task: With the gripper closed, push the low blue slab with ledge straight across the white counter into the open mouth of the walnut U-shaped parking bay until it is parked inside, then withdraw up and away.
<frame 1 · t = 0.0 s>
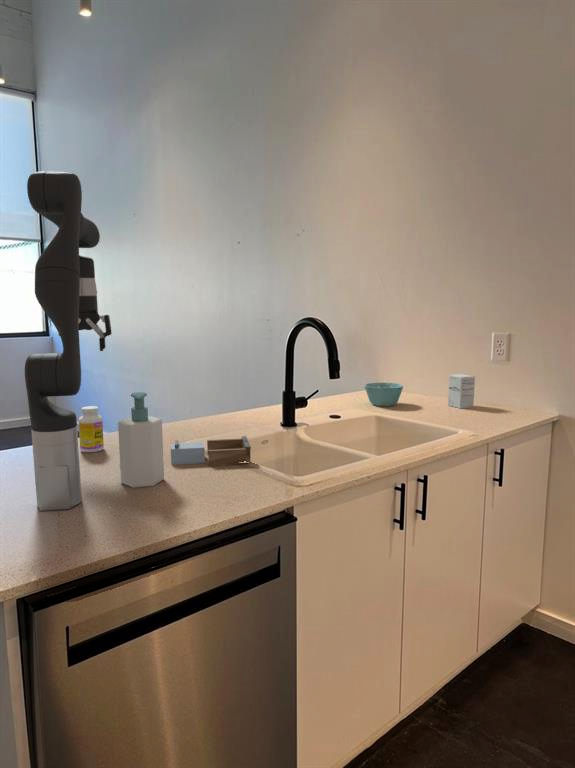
hand: (86, 351, 167), 29 cm above the worktop, fingers open, 8 cm apart
blue slab with ledge: (188, 461, 160), on the worktop
supplement bottle: (92, 450, 170), on the worktop
supplement box: (460, 406, 232), on the worktop
bay: (226, 458, 161), on the worktop
bowl: (383, 405, 237), on the worktop
soap bottle: (142, 482, 142), on the worktop
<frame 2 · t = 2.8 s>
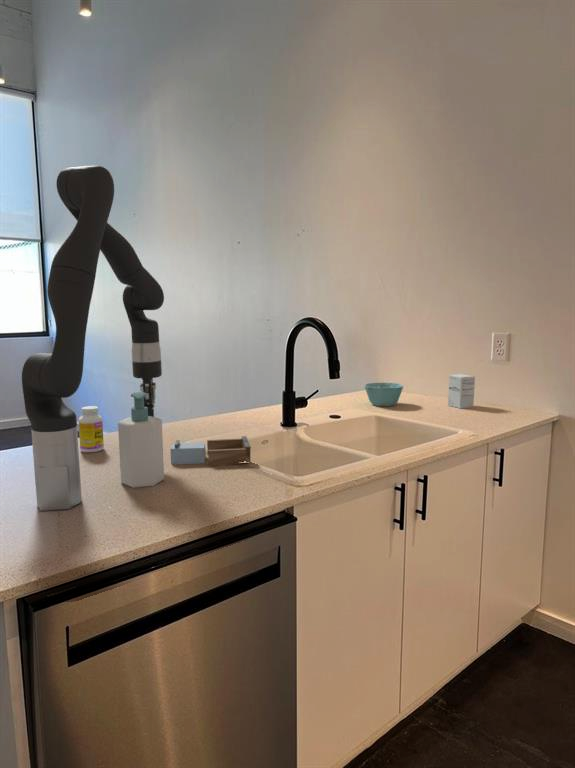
hand: (150, 422, 156), 11 cm above the worktop, fingers closed
nothing on the worktop moved.
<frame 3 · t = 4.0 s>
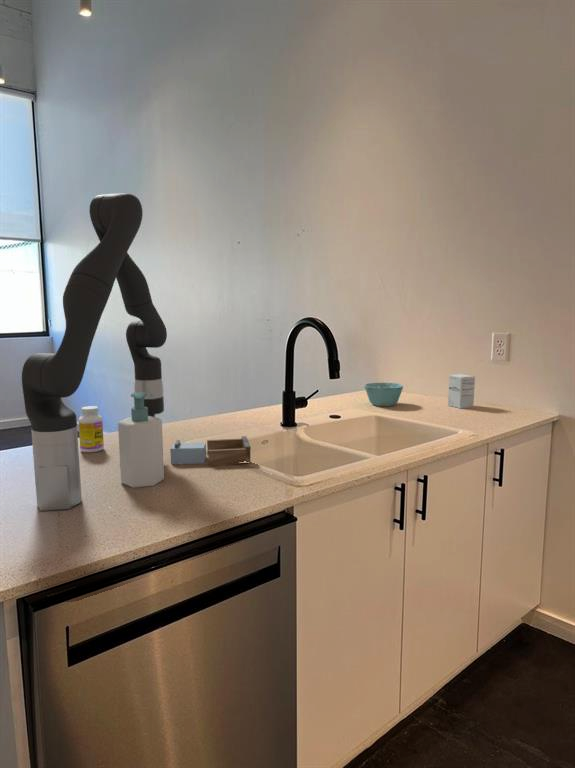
hand: (151, 457, 158), 1 cm above the worktop, fingers closed
nothing on the worktop moved.
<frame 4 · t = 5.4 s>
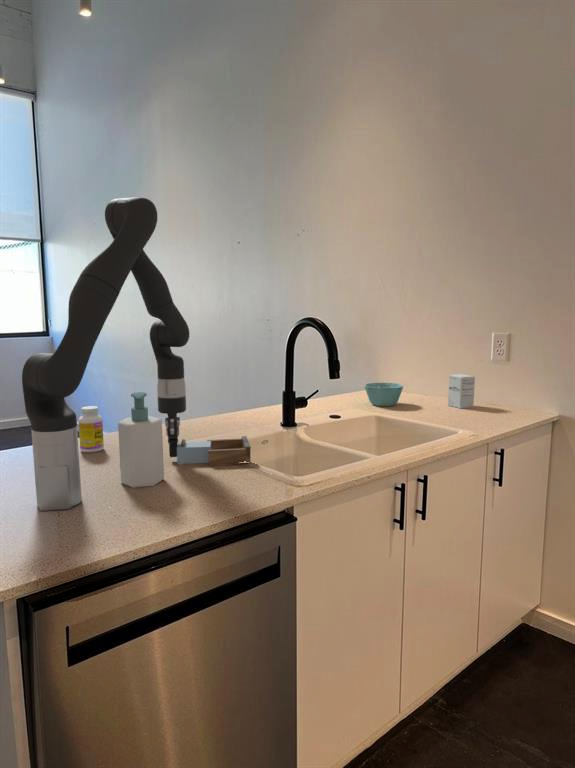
hand: (173, 456, 159), 1 cm above the worktop, fingers closed
blue slab with ledge: (194, 460, 160), on the worktop, touching gripper
everything else where it was.
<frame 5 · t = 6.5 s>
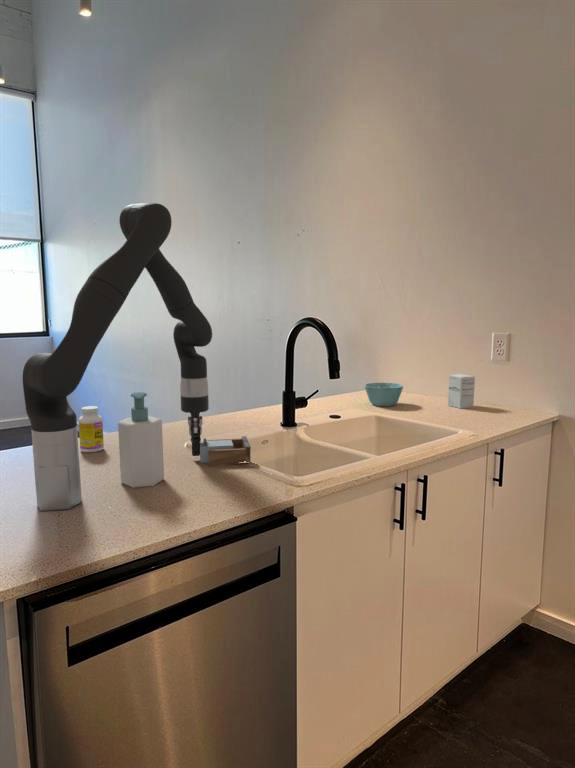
hand: (196, 455, 160), 1 cm above the worktop, fingers closed
blue slab with ledge: (216, 459, 161), resting in bay, touching gripper
everything else where it was.
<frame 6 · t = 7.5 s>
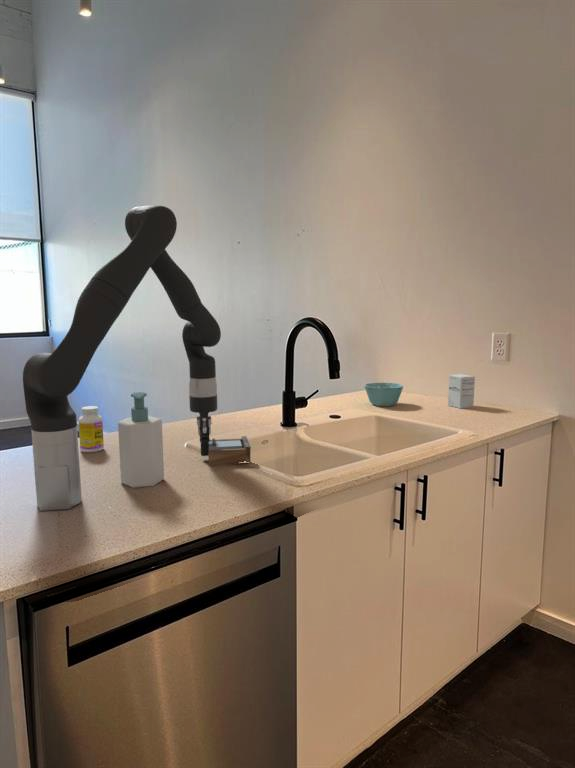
hand: (204, 454, 160), 1 cm above the worktop, fingers closed
blue slab with ledge: (225, 459, 161), resting in bay, touching gripper
everything else where it was.
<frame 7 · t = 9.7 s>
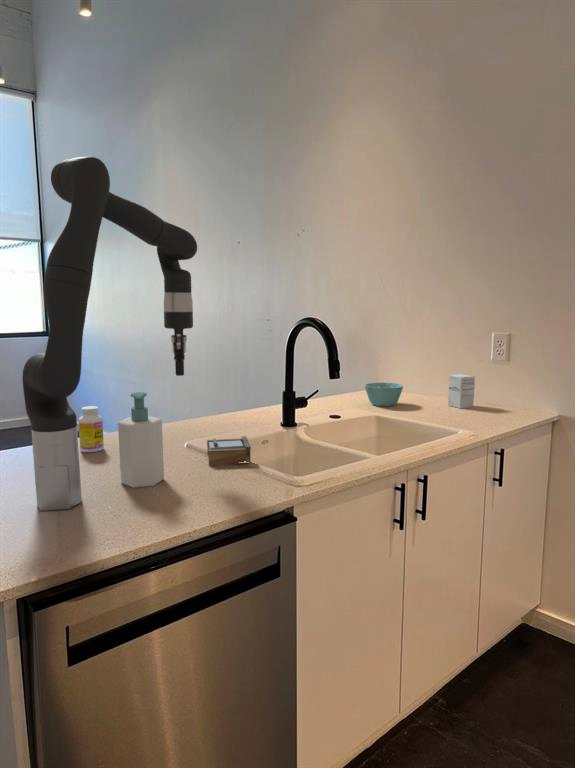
hand: (179, 375, 155), 24 cm above the worktop, fingers closed
blue slab with ledge: (226, 459, 161), resting in bay
everything else where it was.
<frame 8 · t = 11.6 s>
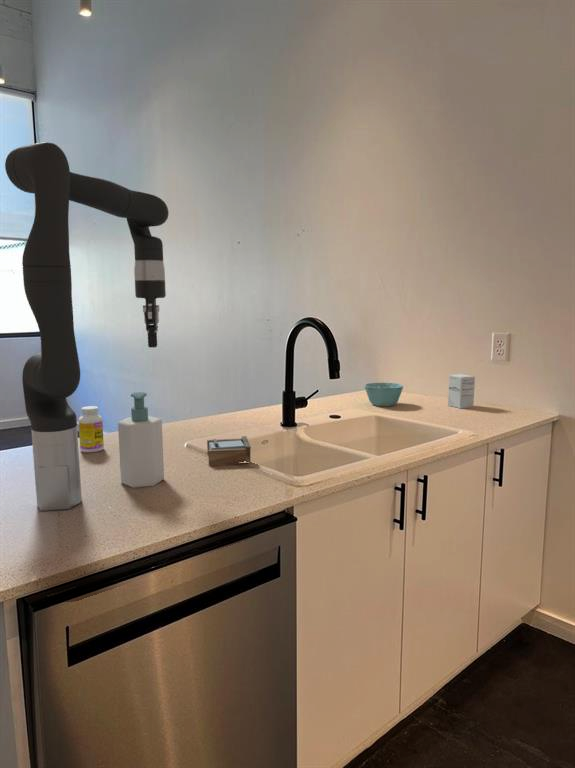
hand: (152, 347, 149), 32 cm above the worktop, fingers closed
nothing on the worktop moved.
at the end: blue slab with ledge inside the target area on the bay (2.1 cm from its centre), point 0.0 cm above the bay's base; blue slab with ledge tilted 0° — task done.
